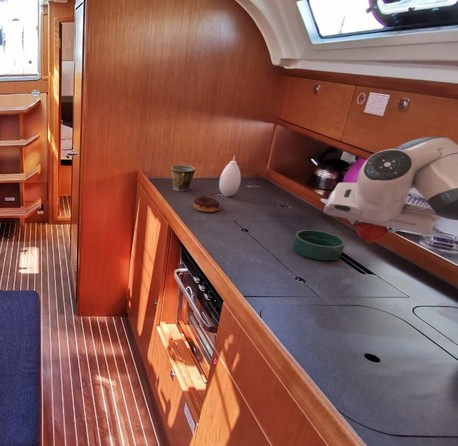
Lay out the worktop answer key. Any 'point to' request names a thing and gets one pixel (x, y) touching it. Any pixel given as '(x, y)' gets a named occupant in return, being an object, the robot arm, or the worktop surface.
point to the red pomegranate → (371, 232)
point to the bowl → (318, 245)
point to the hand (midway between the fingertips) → (373, 226)
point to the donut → (206, 204)
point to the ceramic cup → (182, 177)
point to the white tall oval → (230, 179)
